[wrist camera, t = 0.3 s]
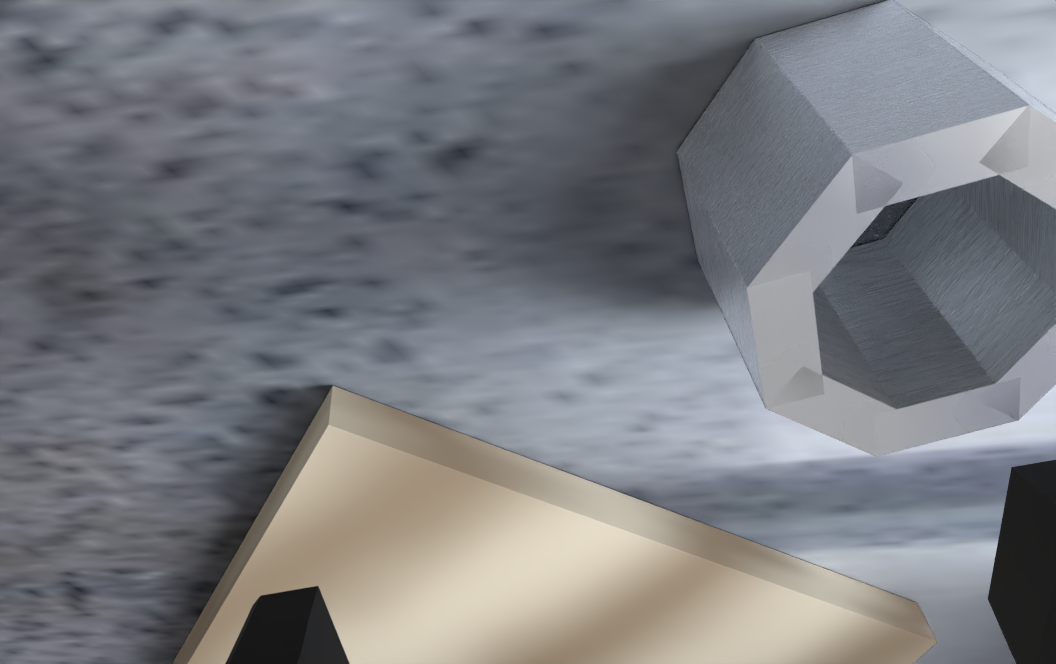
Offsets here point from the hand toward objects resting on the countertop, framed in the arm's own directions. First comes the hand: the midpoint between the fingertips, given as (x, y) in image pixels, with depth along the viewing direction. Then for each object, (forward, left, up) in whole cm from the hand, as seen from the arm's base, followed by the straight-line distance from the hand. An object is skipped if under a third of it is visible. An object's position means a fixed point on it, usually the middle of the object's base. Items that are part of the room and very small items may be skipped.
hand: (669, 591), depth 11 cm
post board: (-6, +12, -9) cm, 16 cm away
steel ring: (-4, -3, -9) cm, 10 cm away
